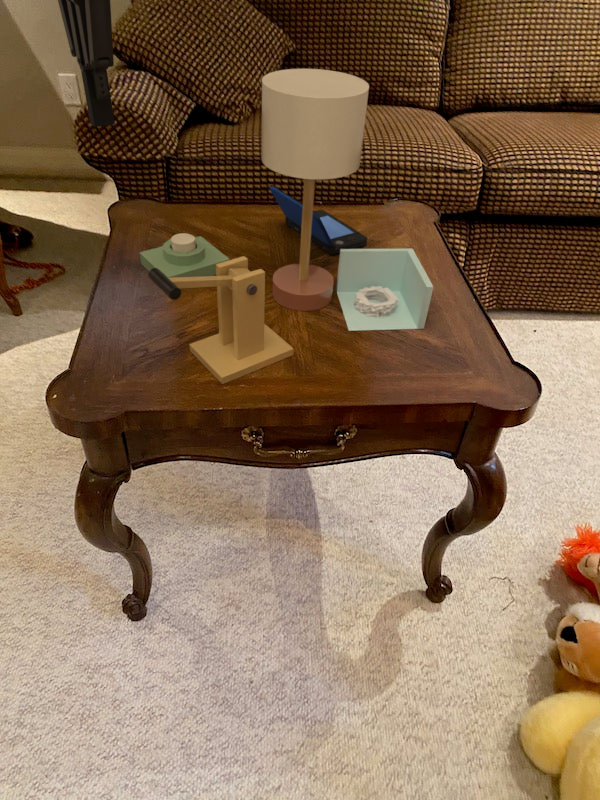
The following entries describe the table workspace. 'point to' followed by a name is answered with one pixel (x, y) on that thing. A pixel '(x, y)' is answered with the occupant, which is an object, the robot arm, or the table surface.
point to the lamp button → (183, 243)
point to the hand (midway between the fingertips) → (102, 123)
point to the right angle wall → (383, 289)
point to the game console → (319, 225)
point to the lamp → (310, 158)
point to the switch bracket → (240, 328)
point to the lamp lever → (192, 281)
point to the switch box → (184, 260)
